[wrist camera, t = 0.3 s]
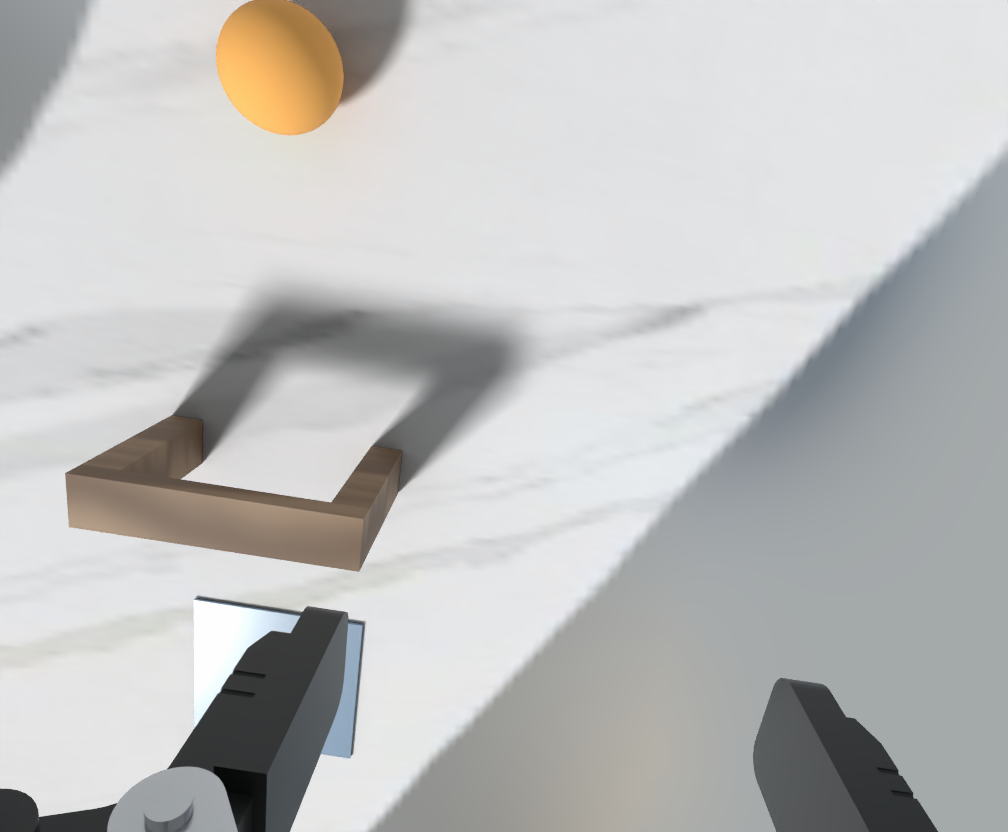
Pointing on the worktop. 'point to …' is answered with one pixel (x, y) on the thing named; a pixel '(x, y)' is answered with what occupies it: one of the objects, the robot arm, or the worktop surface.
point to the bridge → (227, 502)
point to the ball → (279, 66)
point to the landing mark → (238, 627)
